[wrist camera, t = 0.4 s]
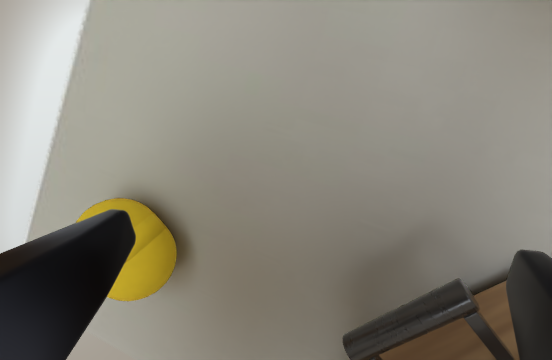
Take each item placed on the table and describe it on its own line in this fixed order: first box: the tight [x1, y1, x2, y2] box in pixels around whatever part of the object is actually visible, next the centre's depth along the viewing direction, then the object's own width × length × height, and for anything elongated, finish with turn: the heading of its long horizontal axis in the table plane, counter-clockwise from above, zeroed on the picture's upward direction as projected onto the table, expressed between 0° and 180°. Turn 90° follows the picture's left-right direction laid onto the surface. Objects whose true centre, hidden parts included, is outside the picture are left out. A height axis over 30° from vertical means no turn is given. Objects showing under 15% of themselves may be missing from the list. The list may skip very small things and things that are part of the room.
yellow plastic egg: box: [76, 198, 177, 301], centre depth 22 cm, size 6×5×5 cm
